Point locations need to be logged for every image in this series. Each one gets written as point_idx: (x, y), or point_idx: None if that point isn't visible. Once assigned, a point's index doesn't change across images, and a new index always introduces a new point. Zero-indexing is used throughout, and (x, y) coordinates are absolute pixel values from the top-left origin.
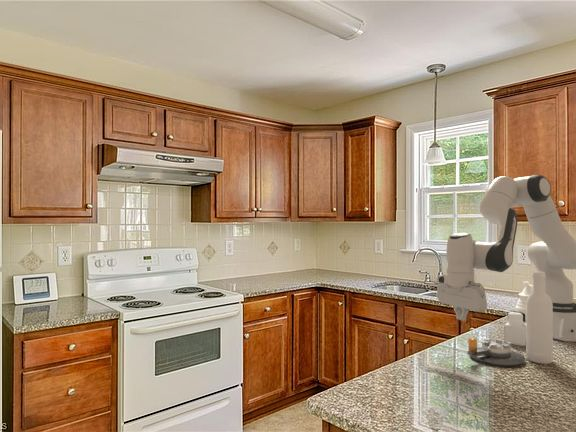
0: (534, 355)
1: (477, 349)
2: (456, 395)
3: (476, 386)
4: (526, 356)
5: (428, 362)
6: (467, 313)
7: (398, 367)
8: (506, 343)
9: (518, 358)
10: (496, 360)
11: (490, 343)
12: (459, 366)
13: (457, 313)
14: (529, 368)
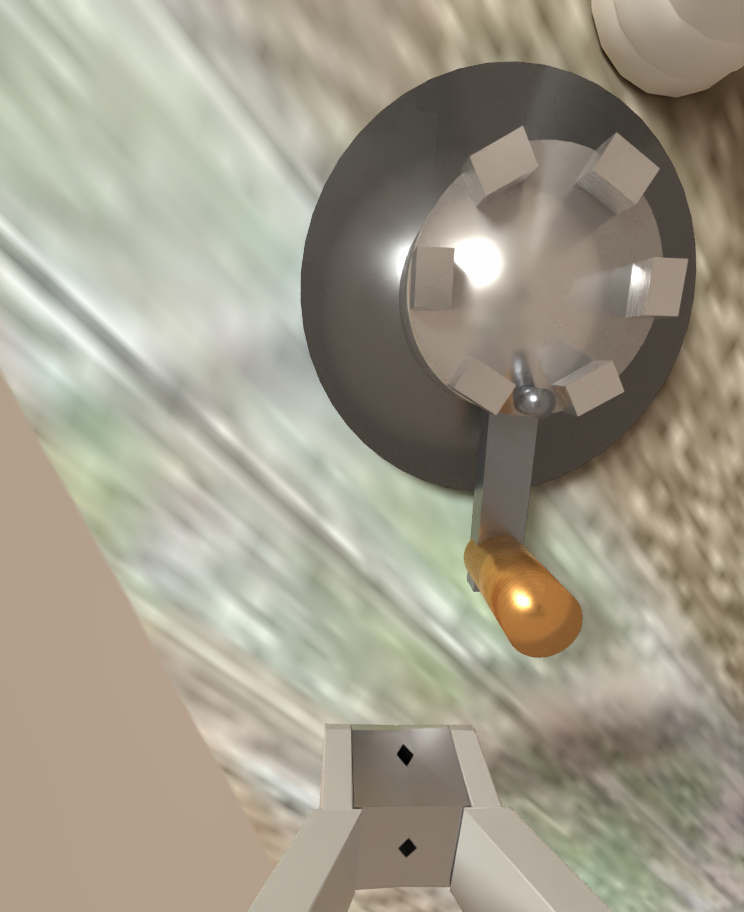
0: (736, 62)
1: (338, 327)
2: (702, 872)
3: (695, 753)
4: (611, 41)
5: None
6: (559, 859)
7: None
8: (602, 189)
9: None
10: (589, 427)
11: (479, 300)
12: (475, 639)
13: (345, 907)
14: (723, 273)
